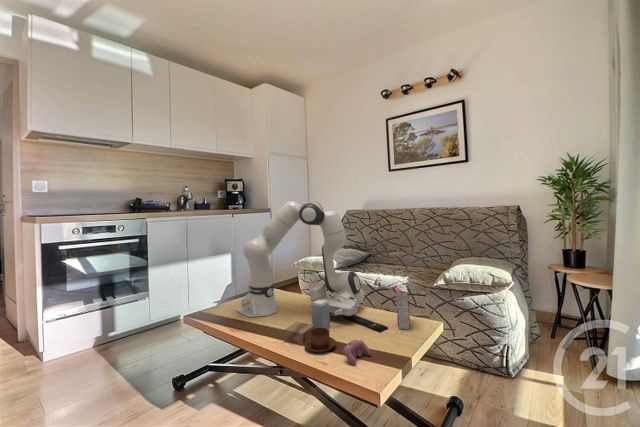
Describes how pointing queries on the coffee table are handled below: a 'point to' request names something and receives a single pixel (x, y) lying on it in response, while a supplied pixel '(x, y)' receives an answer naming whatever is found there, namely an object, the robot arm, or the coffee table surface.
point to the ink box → (317, 291)
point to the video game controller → (357, 346)
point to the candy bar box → (402, 307)
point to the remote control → (366, 323)
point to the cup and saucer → (319, 340)
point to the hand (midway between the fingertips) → (325, 312)
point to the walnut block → (298, 333)
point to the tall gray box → (320, 314)
